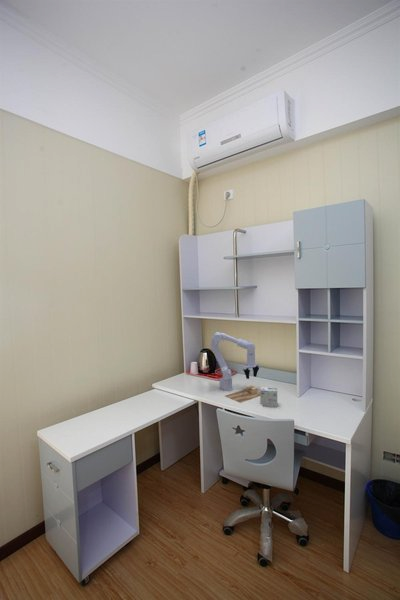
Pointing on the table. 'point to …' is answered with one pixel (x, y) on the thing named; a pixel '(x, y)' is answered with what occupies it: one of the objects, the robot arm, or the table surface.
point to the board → (242, 396)
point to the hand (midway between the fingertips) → (251, 377)
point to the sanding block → (251, 389)
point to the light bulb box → (268, 396)
